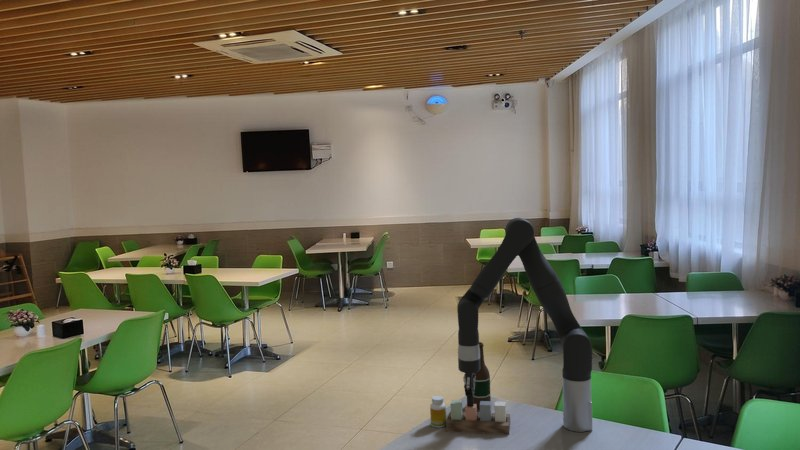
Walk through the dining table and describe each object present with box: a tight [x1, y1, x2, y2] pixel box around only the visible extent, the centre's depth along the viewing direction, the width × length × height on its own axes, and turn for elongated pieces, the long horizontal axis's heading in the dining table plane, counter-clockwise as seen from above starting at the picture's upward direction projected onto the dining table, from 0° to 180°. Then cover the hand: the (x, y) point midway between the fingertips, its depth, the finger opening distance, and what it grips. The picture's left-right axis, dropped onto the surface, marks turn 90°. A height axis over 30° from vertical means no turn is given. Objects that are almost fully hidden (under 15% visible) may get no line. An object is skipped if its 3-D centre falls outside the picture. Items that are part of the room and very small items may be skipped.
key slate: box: [479, 401, 492, 421], centre depth 209 cm, size 4×4×6 cm
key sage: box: [450, 399, 464, 420], centre depth 212 cm, size 4×4×6 cm
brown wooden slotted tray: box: [445, 410, 511, 435], centre depth 210 cm, size 21×10×3 cm, turn 78°
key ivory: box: [494, 401, 507, 422], centre depth 208 cm, size 4×4×6 cm
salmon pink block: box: [464, 402, 478, 421], centre depth 211 cm, size 4×4×6 cm
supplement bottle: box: [429, 395, 447, 429], centre depth 213 cm, size 5×5×10 cm
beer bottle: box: [474, 341, 492, 410], centre depth 228 cm, size 8×8×24 cm
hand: (470, 405), depth 210 cm, fingers closed
